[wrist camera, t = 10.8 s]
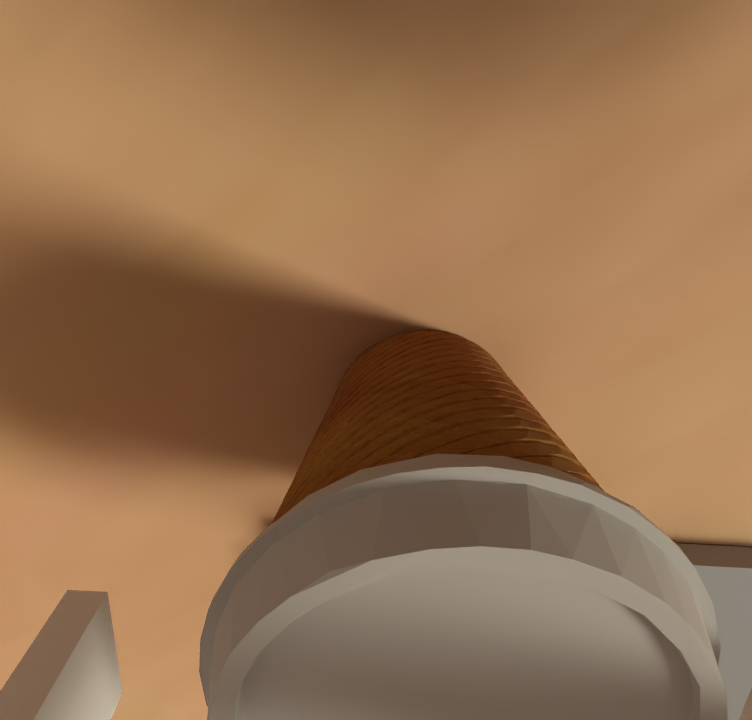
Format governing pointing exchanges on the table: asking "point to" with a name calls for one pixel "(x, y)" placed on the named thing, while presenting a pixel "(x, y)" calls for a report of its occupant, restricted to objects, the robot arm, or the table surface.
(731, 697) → the board
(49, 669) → the robot arm
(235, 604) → the disposable coffee cup
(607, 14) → the table surface
